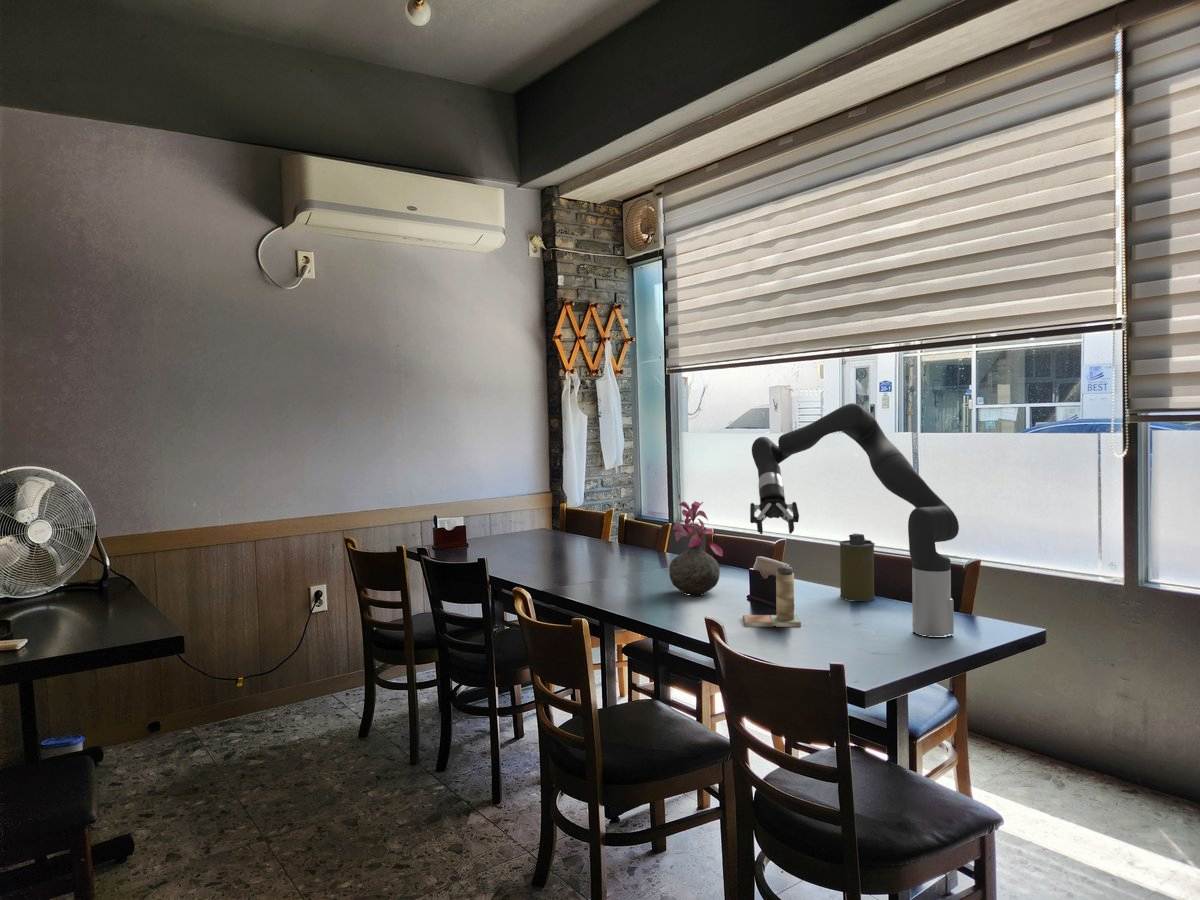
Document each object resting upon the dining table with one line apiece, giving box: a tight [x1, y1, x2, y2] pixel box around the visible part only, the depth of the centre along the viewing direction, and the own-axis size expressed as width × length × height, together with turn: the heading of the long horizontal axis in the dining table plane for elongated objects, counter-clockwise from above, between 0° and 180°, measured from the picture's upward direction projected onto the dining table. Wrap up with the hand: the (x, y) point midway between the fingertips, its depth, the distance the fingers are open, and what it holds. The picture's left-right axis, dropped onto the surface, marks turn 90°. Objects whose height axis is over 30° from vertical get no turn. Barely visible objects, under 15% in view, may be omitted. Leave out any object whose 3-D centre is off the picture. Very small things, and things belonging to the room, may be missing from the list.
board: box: [742, 614, 802, 628], centre depth 220 cm, size 15×8×1 cm, turn 84°
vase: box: [668, 501, 724, 595], centre depth 256 cm, size 17×17×30 cm
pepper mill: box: [775, 565, 795, 621], centre depth 219 cm, size 5×5×14 cm
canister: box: [839, 533, 875, 602], centre depth 246 cm, size 11×10×20 cm
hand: (776, 532), depth 233 cm, fingers open, 8 cm apart
